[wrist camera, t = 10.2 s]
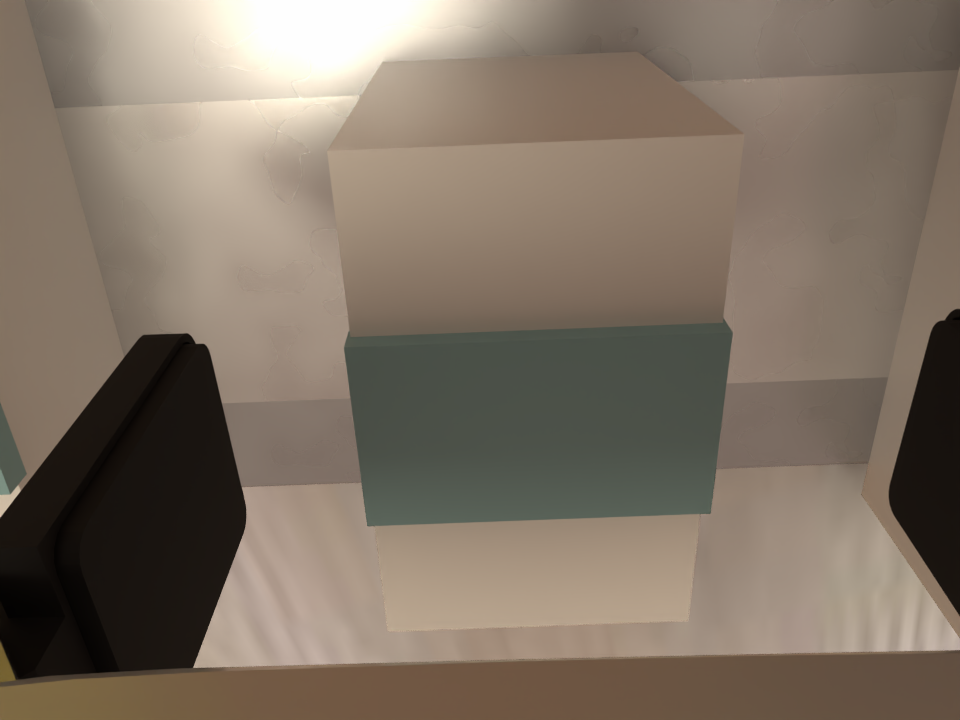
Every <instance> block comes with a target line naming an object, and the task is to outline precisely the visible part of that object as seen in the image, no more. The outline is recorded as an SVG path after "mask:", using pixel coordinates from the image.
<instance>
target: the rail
mask: <svg viewBox="0 0 960 720" xmlns="http://www.w3.org/2000/svg"><path fill="white" fill-rule="evenodd" d="M25 4H26V7H27V11H28V14H29V18H30V21H31V25H32V29H33V32H34V36H35V39H36V43H37V46H38V50H39V54H40V57H41V61H42V64H43V68H44V72H45V75H46V79H47V82H48V86H49V89H50V93H51V97H52V100H53V104H54V107H55V111H56V114H57V118H58V122H59V125H60V129H61V132H62V136H63V140H64V143H65V147H66V150H67V154H68V157H69V161H70V165H71V168H72V172H73V175H74V179H75V183H76V186H77V190H78V193H79V197H80V200H81V204H82V208H83V211H84V215H85V218H86V222H87V225H88V229H89V233H90V236H91V240H92V243H93V247H94V251H95V254H96V258H97V261H98V265H99V268H100V272H101V276H102V279H103V283H104V286H105V290H106V294H107V297H108V301H109V304H110V308H111V311H112V315H113V319H114V322H115V326H116V329H117V333H118V336H119V340H120V344H121V347H122V351H123V354H124V357H125V356H126V354H127V353H128V352H129V351H130V349H131V348H132V347H133V345H134V344H135V343H136V341H137V340H138V339H139V338H140V337H141V336H142V335H150V334H182V333H188V334H189V335H191V336H192V338H193V339H194V341H195V343H196V344H205V345H206V346H207V347H208V349H209V352H210V355H211V359H212V363H213V367H214V371H215V376H216V380H217V384H218V389H219V393H220V397H221V401H222V406H223V410H224V414H225V418H226V423H227V427H228V431H229V436H230V440H231V444H232V448H233V453H234V457H235V461H236V465H237V470H238V474H239V478H240V482H241V487H255V486H281V485H307V484H333V483H359V482H361V474H360V467H359V459H358V451H357V444H356V436H355V429H354V421H353V413H352V406H351V398H350V391H349V383H348V376H347V368H346V360H345V353H344V345H345V342H346V338H347V335H348V332H349V331H350V329H349V321H348V313H347V305H346V297H345V289H344V281H343V274H342V266H341V258H340V250H339V242H338V234H337V226H336V218H335V210H334V202H333V194H332V187H331V179H330V171H329V163H328V155H327V150H328V149H329V147H330V145H331V144H332V142H333V141H334V139H335V137H336V136H337V134H338V132H339V131H340V129H341V128H342V126H343V124H344V123H345V121H346V119H347V118H348V116H349V115H350V113H351V111H352V110H353V108H354V107H355V105H356V103H357V102H358V100H359V98H360V97H361V95H362V94H363V92H364V90H365V89H366V87H367V85H368V84H369V82H370V81H371V79H372V77H373V76H374V74H375V73H376V71H377V69H378V68H379V66H380V64H381V63H382V62H396V61H421V60H445V59H469V58H493V57H518V56H542V55H566V54H590V53H615V52H639V53H640V54H641V55H643V56H644V57H645V58H647V59H648V60H649V61H651V62H652V63H653V64H654V65H656V66H657V67H658V68H660V69H661V70H662V71H663V72H665V73H666V74H667V75H669V76H670V77H671V78H673V79H674V80H675V81H676V82H678V83H679V84H680V85H682V86H683V87H684V88H685V89H687V90H688V91H689V92H691V93H692V94H693V95H695V96H696V97H697V98H698V99H700V100H701V101H702V102H704V103H705V104H706V105H707V106H709V107H710V108H711V109H713V110H714V111H715V112H717V113H718V114H719V115H720V116H722V117H723V118H724V119H726V120H727V121H728V122H729V123H731V124H732V125H733V126H735V127H736V128H737V129H738V130H740V131H741V132H742V133H744V143H743V152H742V160H741V169H740V178H739V186H738V195H737V204H736V212H735V221H734V229H733V238H732V247H731V255H730V264H729V273H728V281H727V290H726V299H725V307H724V316H723V318H724V319H725V321H726V323H727V324H728V326H729V327H730V329H731V330H732V332H733V335H732V343H731V352H730V360H729V368H728V376H727V384H726V392H725V400H724V408H723V417H722V425H721V433H720V441H719V449H718V457H717V465H716V469H723V468H749V467H775V466H801V465H827V464H853V463H869V459H870V455H871V450H872V446H873V442H874V437H875V433H876V429H877V424H878V420H879V416H880V411H881V407H882V402H883V398H884V394H885V389H886V385H887V381H888V376H889V372H890V368H891V363H892V359H893V355H894V350H895V346H896V342H897V337H898V333H899V328H900V324H901V320H902V315H903V311H904V307H905V302H906V298H907V294H908V289H909V285H910V281H911V276H912V272H913V268H914V263H915V259H916V254H917V250H918V246H919V241H920V237H921V233H922V228H923V224H924V220H925V215H926V211H927V207H928V202H929V198H930V194H931V189H932V185H933V180H934V176H935V172H936V167H937V163H938V159H939V154H940V150H941V146H942V141H943V137H944V133H945V128H946V124H947V120H948V115H949V111H950V106H951V102H952V98H953V93H954V89H955V85H956V80H957V76H958V72H959V67H960V0H25Z"/></svg>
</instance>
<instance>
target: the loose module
mask: <svg viewBox="0 0 960 720" xmlns="http://www.w3.org/2000/svg"><path fill="white" fill-rule="evenodd" d="M743 143H744V133H742V132H741V131H740V130H738V129H737V128H736V127H735V126H733V125H732V124H731V123H729V122H728V121H727V120H726V119H724V118H723V117H722V116H720V115H719V114H718V113H717V112H715V111H714V110H713V109H711V108H710V107H709V106H707V105H706V104H705V103H704V102H702V101H701V100H700V99H698V98H697V97H696V96H695V95H693V94H692V93H691V92H689V91H688V90H687V89H685V88H684V87H683V86H682V85H680V84H679V83H678V82H676V81H675V80H674V79H673V78H671V77H670V76H669V75H667V74H666V73H665V72H663V71H662V70H661V69H660V68H658V67H657V66H656V65H654V64H653V63H652V62H651V61H649V60H648V59H647V58H645V57H644V56H643V55H641V54H640V53H639V52H615V53H590V54H566V55H542V56H518V57H493V58H469V59H445V60H421V61H396V62H382V63H381V64H380V66H379V68H378V69H377V71H376V73H375V74H374V76H373V77H372V79H371V81H370V82H369V84H368V85H367V87H366V89H365V90H364V92H363V94H362V95H361V97H360V98H359V100H358V102H357V103H356V105H355V107H354V108H353V110H352V111H351V113H350V115H349V116H348V118H347V119H346V121H345V123H344V124H343V126H342V128H341V129H340V131H339V132H338V134H337V136H336V137H335V139H334V141H333V142H332V144H331V145H330V147H329V149H328V150H327V155H328V163H329V171H330V179H331V187H332V194H333V202H334V210H335V218H336V226H337V234H338V242H339V250H340V258H341V266H342V274H343V281H344V289H345V297H346V305H347V313H348V321H349V329H350V331H349V332H348V335H347V338H346V342H345V345H344V353H345V360H346V368H347V376H348V383H349V391H350V398H351V406H352V413H353V421H354V429H355V436H356V444H357V451H358V459H359V467H360V474H361V482H362V489H363V497H364V505H365V512H366V520H367V526H374V527H375V534H376V542H377V550H378V558H379V566H380V574H381V582H382V590H383V598H384V606H385V614H386V621H387V629H388V632H396V631H424V630H451V629H479V628H506V627H534V626H562V625H589V624H617V623H645V622H672V621H688V618H689V610H690V601H691V593H692V584H693V575H694V567H695V558H696V549H697V541H698V532H699V523H700V515H701V514H711V506H712V498H713V490H714V482H715V473H716V465H717V457H718V449H719V441H720V433H721V425H722V417H723V408H724V400H725V392H726V384H727V376H728V368H729V360H730V352H731V343H732V335H733V332H732V330H731V329H730V327H729V326H728V324H727V323H726V321H725V319H724V318H723V316H724V307H725V299H726V290H727V281H728V273H729V264H730V255H731V247H732V238H733V229H734V221H735V212H736V204H737V195H738V186H739V178H740V169H741V160H742V152H743Z"/></svg>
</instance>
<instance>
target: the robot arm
mask: <svg viewBox="0 0 960 720" xmlns="http://www.w3.org/2000/svg"><path fill="white" fill-rule="evenodd" d="M889 504H890V507H891V511H892V513H893V515H894V517H895V518H896V520H897V521H898V523H899V524H900V526H901V527H902V529H903V530H904V532H905V533H906V535H907V536H908V538H909V540H910V541H911V543H912V544H913V546H914V547H915V549H916V550H917V552H918V553H919V555H920V556H921V558H922V559H923V561H924V562H925V564H926V566H927V567H928V569H929V570H930V572H931V573H932V575H933V576H934V578H935V579H936V581H937V582H938V584H939V585H940V587H941V588H942V590H943V591H944V593H945V595H946V596H947V598H948V599H949V601H950V602H951V604H952V605H953V607H954V608H955V610H956V611H957V613H958V614H959V616H960V309H955V310H953V311H951V312H950V313H949V315H948V316H947V317H946V319H945V320H942V321H938V322H937V323H936V324H935V325H934V326H933V328H932V330H931V333H930V337H929V340H928V344H927V348H926V351H925V355H924V359H923V363H922V366H921V370H920V374H919V377H918V381H917V385H916V389H915V392H914V396H913V400H912V403H911V407H910V411H909V415H908V418H907V422H906V426H905V429H904V433H903V437H902V441H901V444H900V448H899V452H898V455H897V459H896V463H895V466H894V470H893V474H892V478H891V481H890V485H889ZM245 525H246V505H245V500H244V495H243V491H242V487H241V482H240V478H239V474H238V470H237V465H236V461H235V457H234V453H233V448H232V444H231V440H230V436H229V431H228V427H227V423H226V418H225V414H224V410H223V406H222V401H221V397H220V393H219V389H218V384H217V380H216V376H215V371H214V367H213V363H212V359H211V355H210V352H209V349H208V347H207V346H206V345H205V344H196V343H195V341H194V339H193V338H192V336H191V335H189V334H188V333H182V334H150V335H142V336H141V337H140V338H139V339H138V340H137V341H136V343H135V344H134V345H133V347H132V348H131V349H130V351H129V352H128V353H127V354H126V356H125V357H124V358H123V360H122V361H121V362H120V363H119V365H118V366H117V367H116V369H115V370H114V371H113V372H112V374H111V375H110V376H109V378H108V379H107V380H106V382H105V383H104V384H103V385H102V387H101V388H100V389H99V391H98V392H97V393H96V394H95V396H94V397H93V398H92V400H91V401H90V402H89V404H88V405H87V406H86V407H85V409H84V410H83V411H82V413H81V414H80V415H79V416H78V418H77V419H76V420H75V422H74V423H73V424H72V425H71V427H70V428H69V429H68V431H67V432H66V433H65V435H64V436H63V437H62V438H61V440H60V441H59V442H58V444H57V445H56V446H55V447H54V449H53V450H52V451H51V453H50V454H49V455H48V457H47V458H46V459H45V460H44V462H43V463H42V464H41V466H40V467H39V468H38V469H37V471H36V472H35V473H34V475H33V476H32V477H31V478H30V480H29V481H28V482H27V484H26V485H25V486H24V488H23V489H22V490H21V491H20V493H19V494H18V495H17V497H16V498H15V499H14V500H13V502H12V503H11V504H10V506H9V507H8V508H7V510H6V511H5V512H4V513H3V515H2V516H1V517H0V720H960V650H952V651H895V652H842V653H790V654H742V655H694V656H648V657H604V658H560V659H516V660H478V661H439V662H401V663H364V664H327V665H291V666H254V667H217V668H193V666H194V664H195V661H196V658H197V656H198V653H199V650H200V648H201V645H202V642H203V640H204V637H205V634H206V632H207V629H208V626H209V624H210V621H211V618H212V616H213V613H214V610H215V608H216V605H217V602H218V600H219V597H220V594H221V592H222V589H223V586H224V584H225V581H226V578H227V576H228V573H229V570H230V568H231V565H232V562H233V560H234V557H235V554H236V552H237V549H238V547H239V544H240V541H241V539H242V536H243V533H244V530H245Z"/></svg>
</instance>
